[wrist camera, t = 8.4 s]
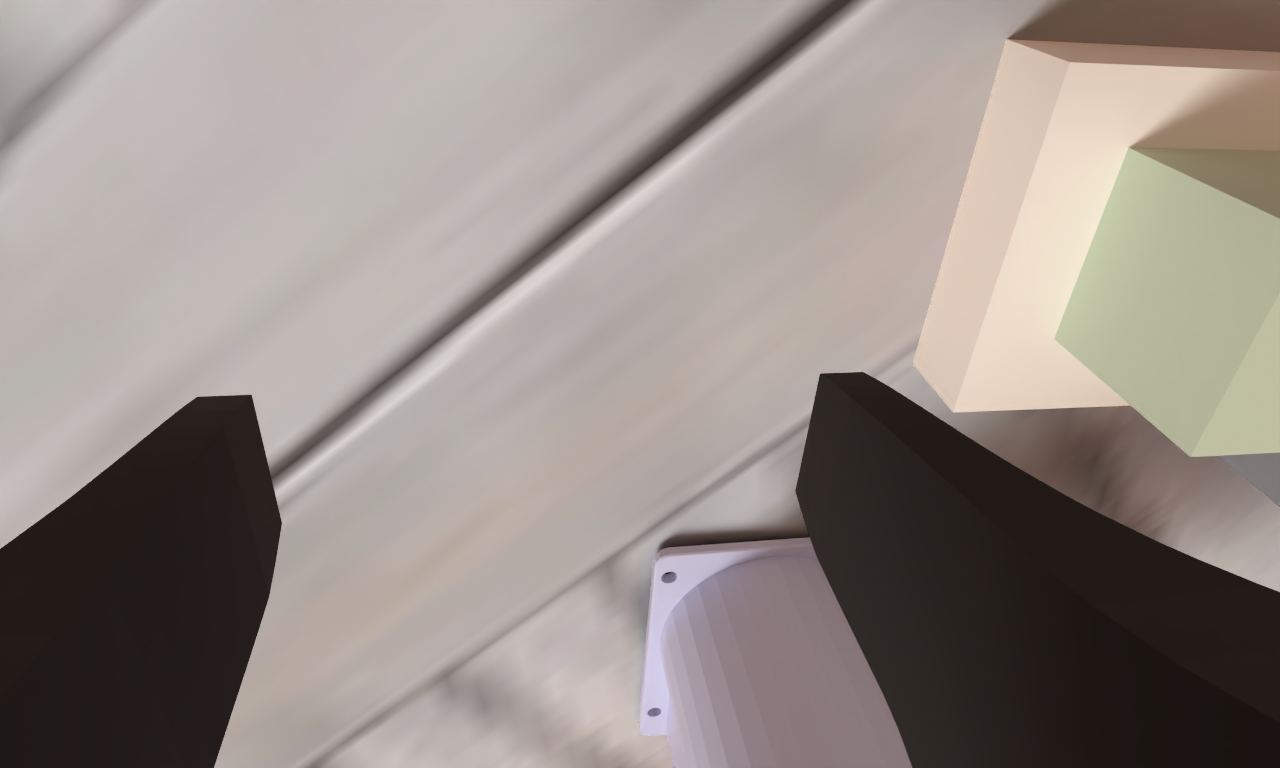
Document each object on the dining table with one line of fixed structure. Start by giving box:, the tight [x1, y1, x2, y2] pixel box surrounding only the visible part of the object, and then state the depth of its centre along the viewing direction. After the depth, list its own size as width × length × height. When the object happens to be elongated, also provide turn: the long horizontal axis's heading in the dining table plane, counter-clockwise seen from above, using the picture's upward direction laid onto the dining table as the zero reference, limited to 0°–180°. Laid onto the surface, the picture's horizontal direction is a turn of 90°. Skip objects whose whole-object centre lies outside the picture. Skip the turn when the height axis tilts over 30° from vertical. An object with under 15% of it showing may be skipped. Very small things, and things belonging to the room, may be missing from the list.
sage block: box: [1054, 148, 1280, 457], centre depth 18 cm, size 5×5×5 cm
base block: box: [913, 39, 1280, 412], centre depth 22 cm, size 9×9×3 cm
